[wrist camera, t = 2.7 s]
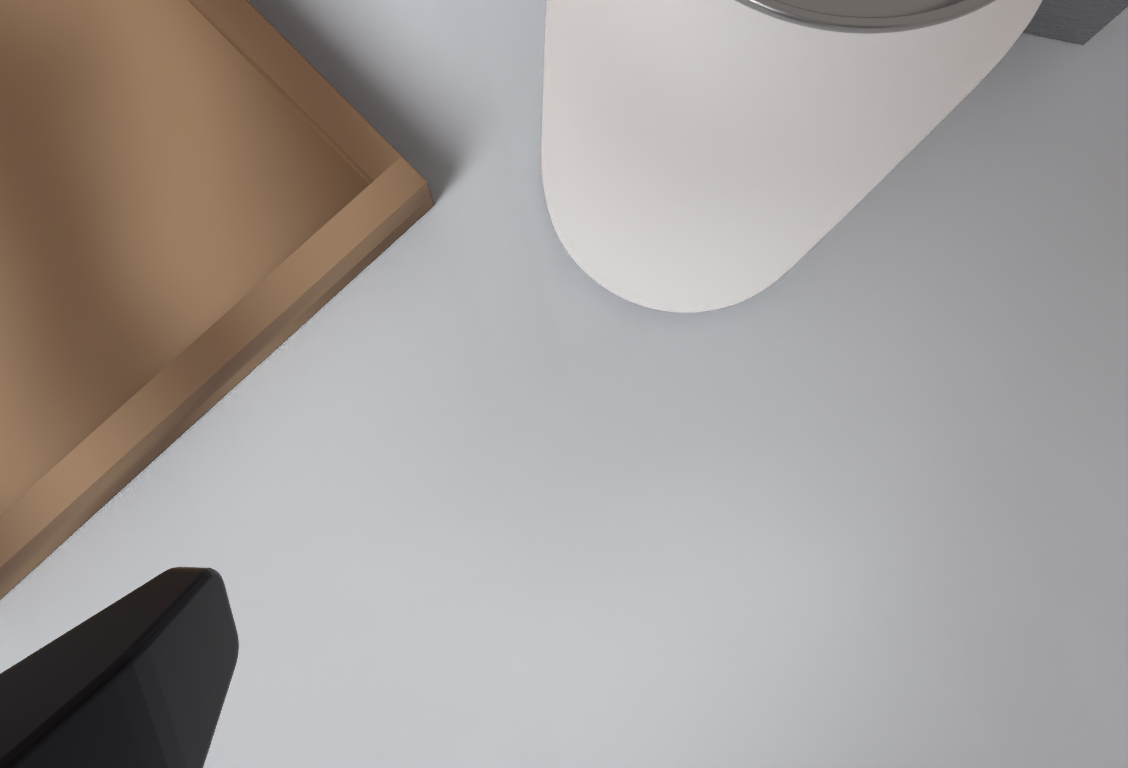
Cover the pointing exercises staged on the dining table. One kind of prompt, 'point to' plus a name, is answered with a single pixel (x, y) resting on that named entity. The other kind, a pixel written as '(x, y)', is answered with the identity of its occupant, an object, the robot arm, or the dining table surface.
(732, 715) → the dining table surface
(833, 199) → the can
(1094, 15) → the iron block
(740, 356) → the dining table surface
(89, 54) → the walnut tray
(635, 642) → the dining table surface
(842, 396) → the dining table surface
